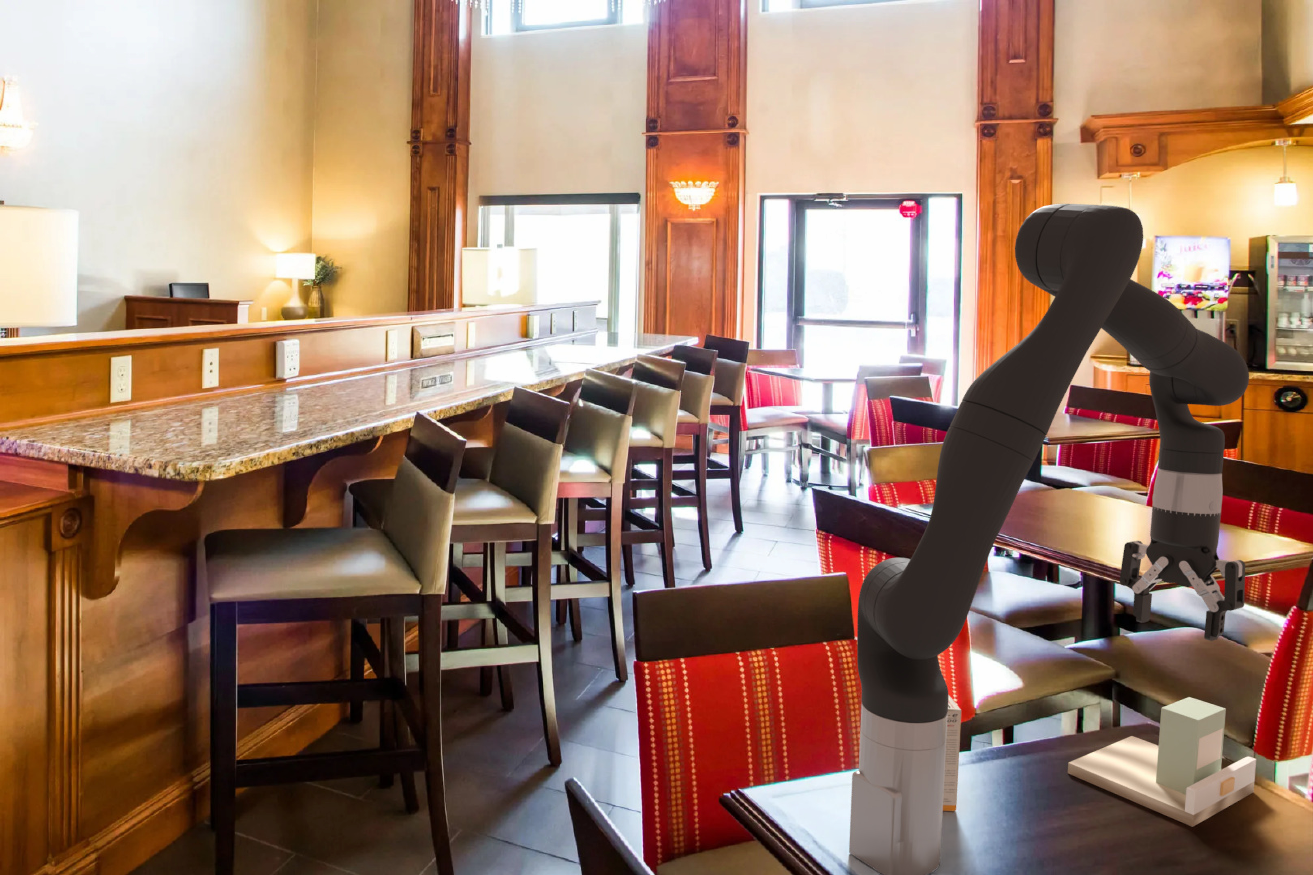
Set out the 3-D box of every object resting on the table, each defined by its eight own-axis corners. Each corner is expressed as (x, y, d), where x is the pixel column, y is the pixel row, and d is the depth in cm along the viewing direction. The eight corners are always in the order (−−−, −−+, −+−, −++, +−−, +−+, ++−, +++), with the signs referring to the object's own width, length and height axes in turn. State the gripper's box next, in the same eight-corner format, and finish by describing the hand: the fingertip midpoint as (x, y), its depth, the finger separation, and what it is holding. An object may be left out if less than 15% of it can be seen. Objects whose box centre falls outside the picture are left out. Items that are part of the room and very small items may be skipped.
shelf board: (1195, 827, 106) (1198, 792, 106) (1067, 773, 120) (1069, 741, 119) (1256, 793, 115) (1258, 759, 115) (1131, 745, 129) (1133, 715, 128)
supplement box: (958, 812, 109) (963, 710, 108) (919, 811, 109) (924, 709, 108) (938, 780, 117) (943, 684, 116) (901, 779, 117) (906, 683, 116)
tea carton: (1220, 783, 115) (1226, 708, 114) (1192, 797, 111) (1199, 720, 110) (1183, 768, 118) (1188, 696, 117) (1155, 782, 115) (1161, 707, 114)
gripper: (1262, 513, 109) (1250, 641, 110) (1145, 495, 121) (1136, 611, 122) (1233, 517, 105) (1220, 651, 106) (1115, 499, 117) (1106, 619, 118)
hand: (1175, 629), depth 114 cm, fingers open, 8 cm apart
